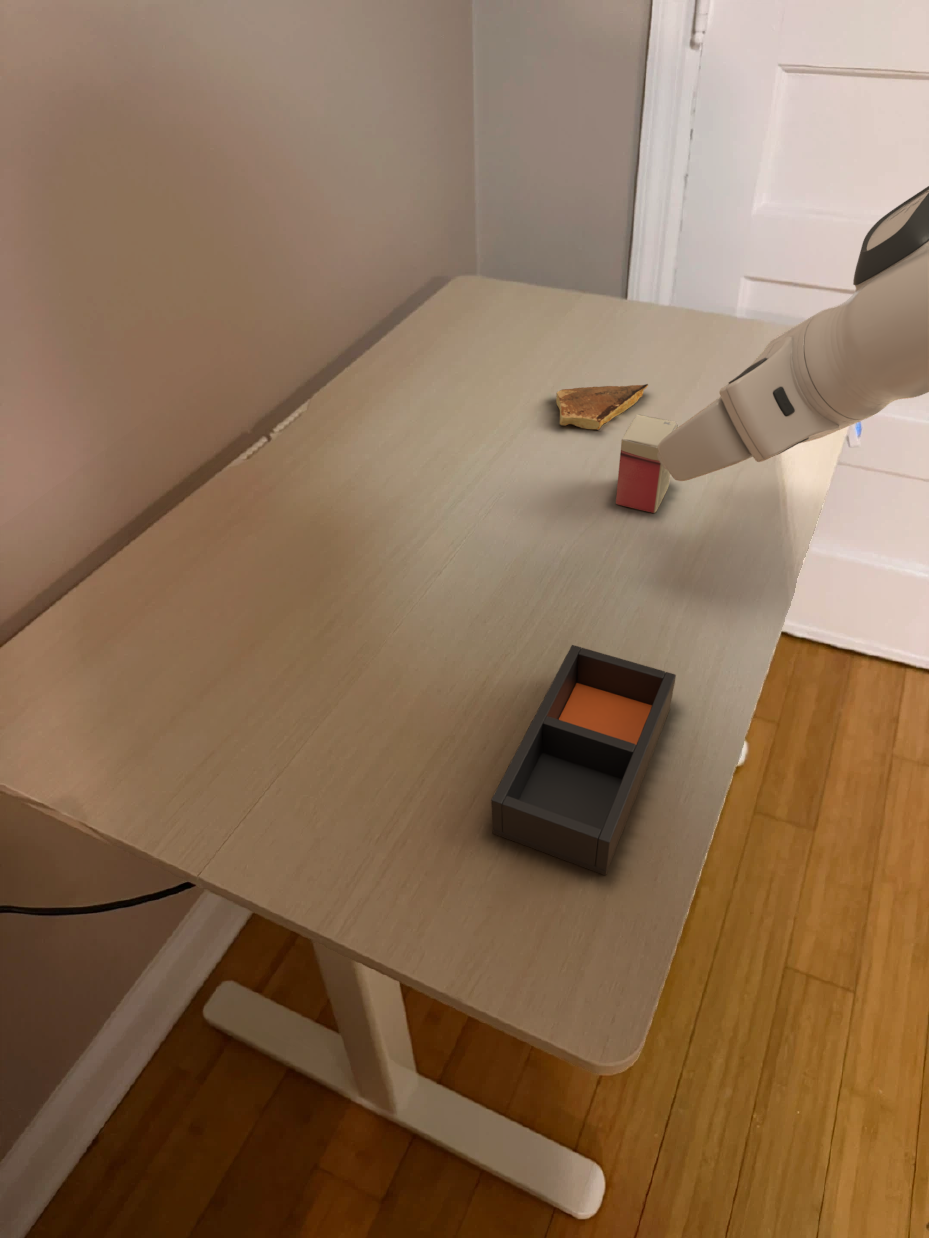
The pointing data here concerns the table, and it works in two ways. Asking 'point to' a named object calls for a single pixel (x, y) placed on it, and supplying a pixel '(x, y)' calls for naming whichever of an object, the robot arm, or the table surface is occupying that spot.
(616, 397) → the shard
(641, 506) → the small box
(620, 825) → the holder
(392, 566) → the table surface
